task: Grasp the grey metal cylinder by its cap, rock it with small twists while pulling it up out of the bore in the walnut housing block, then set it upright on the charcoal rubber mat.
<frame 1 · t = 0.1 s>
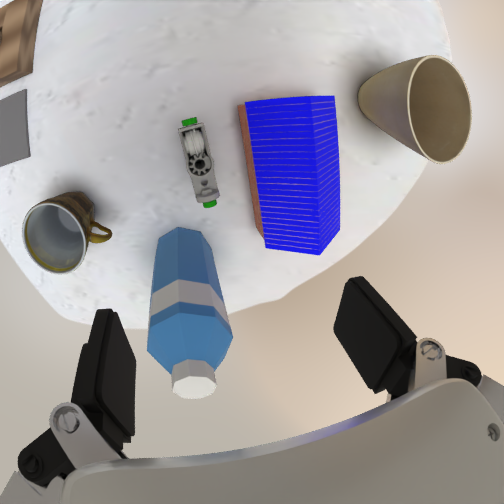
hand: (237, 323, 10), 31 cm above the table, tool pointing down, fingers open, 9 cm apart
house: (282, 162, 40), on the table
mat: (1, 132, 24), on the table
housing: (4, 49, 17), on the table
water bottle: (182, 252, 43), on the table
plant pot: (373, 100, 37), on the table
mechanical component: (195, 151, 36), on the table
ceramic cup: (85, 211, 36), on the table
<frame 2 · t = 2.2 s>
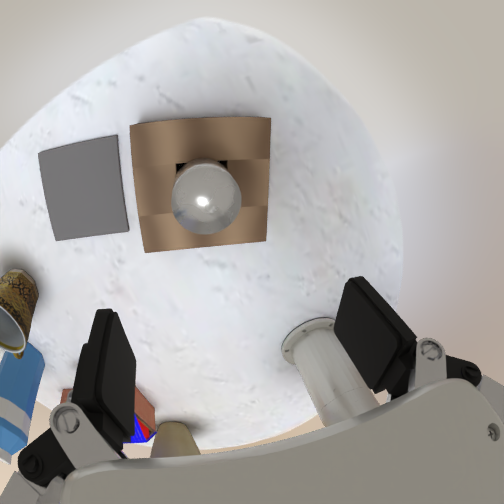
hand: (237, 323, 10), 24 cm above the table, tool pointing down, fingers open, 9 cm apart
house: (107, 398, 48), on the table
mat: (82, 190, 28), on the table
housing: (199, 175, 31), on the table
grey metal cylinder: (202, 186, 27), in the housing
water bottle: (26, 353, 37), on the table
plant pot: (172, 426, 58), on the table
ceramic cup: (25, 292, 32), on the table
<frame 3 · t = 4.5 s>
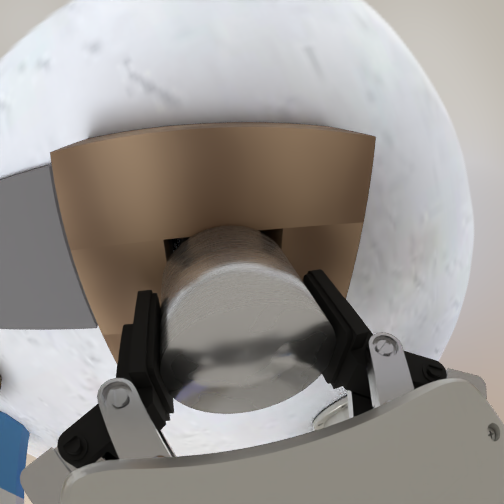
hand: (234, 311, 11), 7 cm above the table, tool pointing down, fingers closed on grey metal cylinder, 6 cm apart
mat: (15, 261, 14), on the table
housing: (214, 238, 17), on the table
grey metal cylinder: (226, 285, 13), in the housing, touching gripper
water bottle: (7, 420, 23), on the table
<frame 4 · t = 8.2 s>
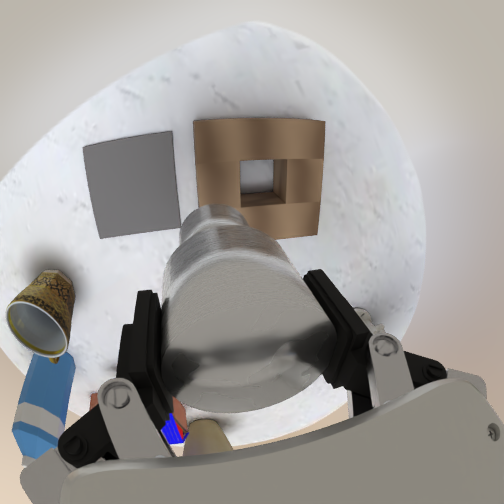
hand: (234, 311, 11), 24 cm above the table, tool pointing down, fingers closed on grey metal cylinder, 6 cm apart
house: (138, 401, 51), on the table
mat: (131, 186, 30), on the table
housing: (253, 173, 33), on the table
grey metal cylinder: (227, 284, 13), point 22 cm above the table, touching gripper
water bottle: (55, 357, 40), on the table
plant pot: (202, 423, 60), on the table
ceramic cup: (59, 294, 34), on the table
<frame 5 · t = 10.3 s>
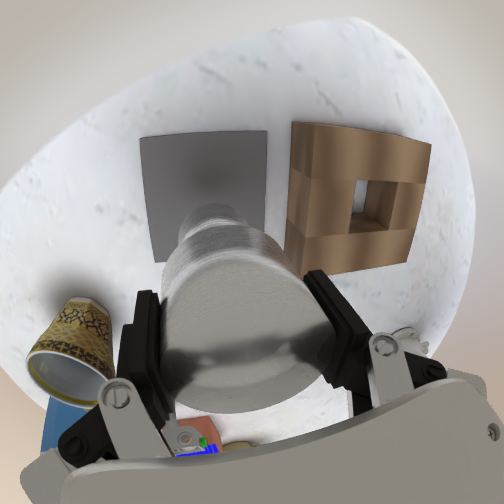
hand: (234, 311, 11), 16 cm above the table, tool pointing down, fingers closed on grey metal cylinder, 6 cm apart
house: (169, 430, 45), on the table
mat: (205, 197, 24), on the table
housing: (348, 191, 28), on the table
grey metal cylinder: (226, 284, 13), point 14 cm above the table, touching gripper
water bottle: (78, 389, 34), on the table
mechanical component: (169, 398, 39), on the table
ceramic cup: (89, 325, 28), on the table
when the fingers open (8 cm above the table, at t = 12.1 s): grey metal cylinder stays where it is, resting on mat.
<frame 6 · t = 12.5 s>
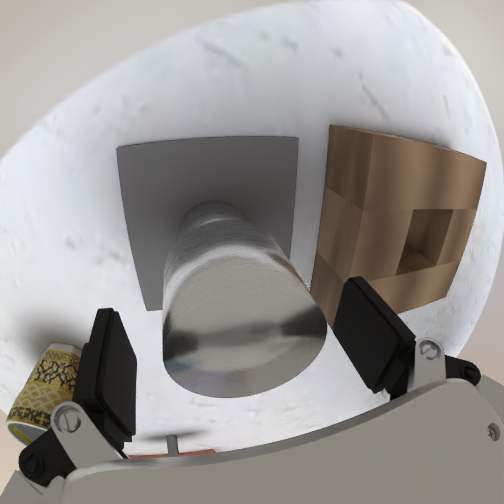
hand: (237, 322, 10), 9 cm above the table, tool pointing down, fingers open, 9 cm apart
mat: (211, 228, 18), on the table
housing: (389, 215, 21), on the table
grey metal cylinder: (225, 276, 13), on the mat, point 6 cm above the table
mechanical component: (171, 435, 32), on the table
ceramic cup: (76, 371, 22), on the table
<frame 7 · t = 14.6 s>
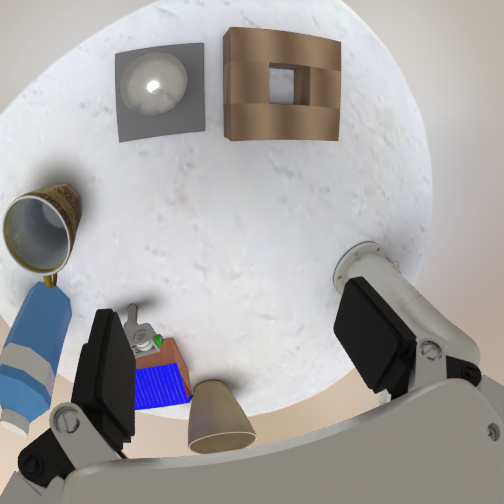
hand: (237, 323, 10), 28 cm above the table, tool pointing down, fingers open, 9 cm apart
house: (137, 361, 49), on the table
mat: (159, 90, 27), on the table
housing: (276, 86, 31), on the table
grey metal cylinder: (156, 87, 23), on the mat, point 6 cm above the table
water bottle: (50, 302, 37), on the table
plant pot: (209, 387, 60), on the table
mechanical component: (133, 306, 42), on the table
ceramic cup: (63, 215, 31), on the table
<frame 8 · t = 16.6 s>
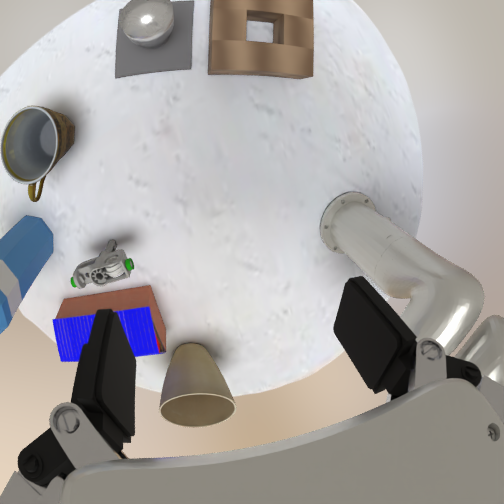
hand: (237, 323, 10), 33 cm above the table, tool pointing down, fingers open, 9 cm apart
house: (114, 313, 48), on the table
mat: (153, 36, 27), on the table
housing: (256, 34, 30), on the table
grey metal cylinder: (150, 26, 22), on the mat, point 6 cm above the table
water bottle: (34, 238, 37), on the table
plant pot: (190, 352, 58), on the table
mechanical component: (113, 243, 41), on the table
ceramic cup: (58, 145, 31), on the table
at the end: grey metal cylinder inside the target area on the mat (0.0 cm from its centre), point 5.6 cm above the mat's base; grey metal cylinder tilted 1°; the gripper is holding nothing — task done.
